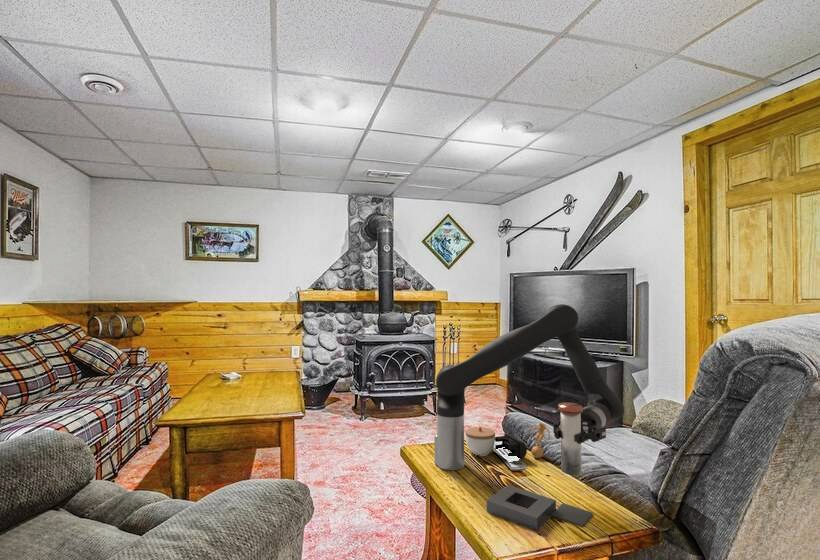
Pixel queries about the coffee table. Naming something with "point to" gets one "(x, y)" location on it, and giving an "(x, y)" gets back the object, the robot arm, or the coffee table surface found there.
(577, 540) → the coffee table surface
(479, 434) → the lidded jar
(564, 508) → the mat
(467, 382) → the robot arm
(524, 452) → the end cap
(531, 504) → the bore housing
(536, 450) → the figurine
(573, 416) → the capped metal cylinder
